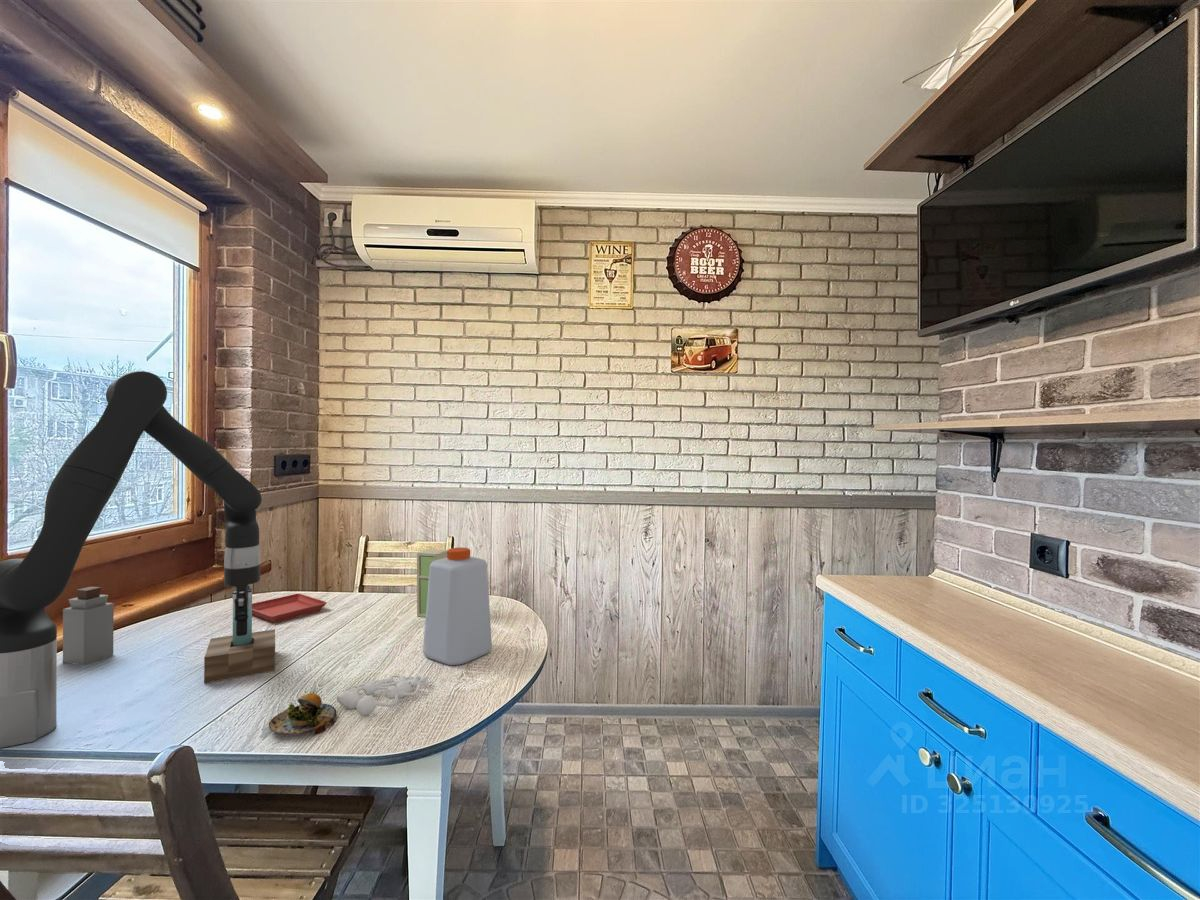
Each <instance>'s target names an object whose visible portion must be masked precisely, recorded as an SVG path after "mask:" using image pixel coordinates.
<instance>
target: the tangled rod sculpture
mask: <svg viewBox="0 0 1200 900" xmlns="http://www.w3.org/2000/svg"><path fill="white" fill-rule="evenodd" d="M394 678H398V679H394ZM428 678H429V676H428V675H427V676H421V675H419V674H416V675H413V676H405V675H398V674H394V675H393V674H392V675H391V676H388V677H386V678H380V679H377V680H373V681H372V680H371V681H365V682H363V683H361V684H357V685H352V686H348V687H347V688H344V689H343V692H340V693H339V694H337V696H336V702H338V703H339V704H340V705H341V706H343V707H344V708H346V709H350V710H353V709H356V712H357V713H358V714H359V715H361V716H363V717H366V716H370V715H371V714H373V713H374V712H375V710H376V708H377V706H378V707H383V708H384V707H385V708H391V707H393V706H396V704H397V703H398V700H399V699H403V698H404V697H414V696H417V695H418V693H419V692H420V689H421V686H426V685H428V684H429V681H428V680H429V679H428ZM412 687H413V688H415V687H416V689H415V691H413V692H411V690H412ZM351 689H355V690H353V691H349V690H351ZM360 691H363V692H364V695H361V694H360V693H359V692H360ZM380 693H382V694H384V696H385V698H386V699H388V700H393V701H392V702H381V701H377V700H376V698H375V697H374V696H375V695H377V694H380Z"/></svg>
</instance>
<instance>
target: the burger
mask: <svg viewBox="0 0 1200 900" xmlns="http://www.w3.org/2000/svg"><path fill="white" fill-rule="evenodd" d="M316 687H317V685H315V686H314V690H313V692H309V693H306V694H303V695H301V696H300V697H298V699H297V702H298V703H299V705H296V706H295V704H293V702H291V703H290V704H289V707H288V708H287V709H286V710H284V711H282V712H280V713H278V714H277V715H275V716H273V718H272V719H270V721H269V722H268V728H269V729H270V730H271V731H273V732H275V733H278V734H281V735H288V736H289V735H290V736H292V735H293V736H295V735H301V734H306V733H311V732H312V731H314V736H316V735H320V734H321V733H323V732H326V730H327V726H328V725H330V726H331V727H333V726H334V725H335V723H336V722H337V718H338V715H337V710H336V708H335V707H334V706H332V705H331V704H327V703H323V702H322V701H323V700H322V698H321V696H320V695H319V694H317V693H314V692H315V690H316Z"/></svg>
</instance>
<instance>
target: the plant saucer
mask: <svg viewBox="0 0 1200 900" xmlns="http://www.w3.org/2000/svg"><path fill="white" fill-rule="evenodd" d="M327 603H328V602H327V601H325V600H321V599H318V598H315V597H312V596H309V595H305V594H302V593H294V594H290V595H285V596H280V597H276V598H272V599H267V600H263V601H258V602H252V616H255V617H258V618H261V619H264V620H267V621H268V622H271V623H278V622H281V621H285V620H290V619H293V618H296V617H297V618H298V617H301V616H305V615H309V614H313V613H316V612H320V611H321V610H322V609H323V608H324V607H325V606H326V604H327Z"/></svg>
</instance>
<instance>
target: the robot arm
mask: <svg viewBox="0 0 1200 900" xmlns="http://www.w3.org/2000/svg"><path fill="white" fill-rule="evenodd" d="M167 397H168V391H167V387H166V384H165V383H164V381H163V379H161V378H160V377H159V376H158V375H156V374H154V373H153V372H150V371H145V370H144V371H143V370H139V371H138V370H137V371H132V372H127V373H124V374H123V375H121V376H119V377H118V378H117V379H115V380H114V381H113V382H111V383H110V384H109V386H108V387H107V389H106V392H105V399H106V402H107V405H106V406H105V409H104V412H102V414H101V416H100V418H99V420H98V422H97V423H96V424H95V426H94V427H93V428H92V429H91V430H90V431H89V433H87V435H86V436H85V437H84V438H83V439H82V440H81V441H80V443H78V445H77V446H76V447H75V448H74V449H73V451H72V452H71V453H69V455H68V457H67V459H66V460H65V461H64V462H63V464H62V466H61V467H60V469H59V470H58V471H57V473H56V475H55V477H54V478H53V479H52V482H51V484H50V485H49V488H48V491H47V493H46V497H45V505H44V517H43V524H42V527H41V530H40V531H39V532H40V533H39V535H38V537H37V539H36V540H35V542H34V543H33V545H32V547H31V548H30V550H29V551H28V553H27V554H26V555H25V557H24V558H19V557H18V558H9V559H5V560H1V561H0V749H2V748H7V747H12V746H16V745H17V746H18V745H21V744H28V743H33V742H36V741H37V740H38V739H39V738H41V737H43V736H45V735H47V734H49V733H51V732H53V730H55V729H56V727H57V706H58V705H57V691H58V690H57V689H58V687H57V675H58V674H57V669H58V668H57V667H58V666H57V662H58V661H57V660H58V658H57V656H58V655H57V653H58V649H57V648H58V638H57V637H58V629H57V628H58V627H57V625H56V623H55V622H54V621H53V620H52V619H51V617H49V615H48V614H47V612H46V608H47V607H48V606H51V604H53V603H54V602H55V601H56V600H57V599H58V598H59V597H60V596H61V595H62V594H63V592H64V591H65V589H66V587H67V585H68V583H69V581H70V579H71V576H72V574H73V571H74V568H75V567H76V563H77V562H78V559H79V557H80V554H81V553H82V552H81V551H82V549H83V547H84V544H85V542H86V541H87V539H88V537H89V535H90V533H91V532H92V530H93V529H94V526H95V524H96V523H97V522H98V520H99V517H100V515H101V513H102V511H103V509H104V508H105V506H106V504H107V503H108V502H109V500H110V498H111V496H112V495H113V494H114V492H115V490H116V488H117V486H118V484H119V483H120V481H121V478H122V477H123V474H124V473H125V471H126V468H127V466H128V464H129V463H130V461H131V458H132V456H133V453H134V451H135V449H136V446H137V444H138V442H139V440H140V438H141V436H142V435H143V433H144V432H145V433H146V434H147V435H148V436H150V437H151V438H153V439H154V440H155V441H156V442H157V443H159V444H160V445H162V447H164V448H165V449H166V450H167V451H169V453H171V454H172V455H173V456H174V457H175V458H176V459H177V460H178V461H180V462H181V463H182V465H184V466H185V467H186V468H187V470H189V471H190V472H191V473H192V474H193V475H194V476H196V478H198V480H200V482H202V483H203V484H204V485H206V486H207V487H208V488H210V489H212V490H213V492H215V493H216V494H217V495H218V497H220V498H221V499H222V501H223V511H224V519H225V527H226V528H225V550H224V556H223V557H224V558H223V560H224V561H223V563H224V565H223V579H224V580H223V583H224V585H225V586H226V587H227V586H229V587H236V589H233V590H232V591H233V592H234V591H236V592H234V593H233V592H232V598H231V599H232V601H233V600H234V606H233V605H232V611H233V610H234V611H235V621H236V635H237V636H243V635H246V634H247V620H248V610H249V609H250V598H251V597H252V598H253V588H252V587H251V586H250V585H253V584H256V583H258V582H260V580H261V550H260V548H261V547H260V527H259V523H258V522H257V509H258V508H259V507H260V506H261V504H262V494H261V492H260V490H259V489H258V488H257V487H256V486H255V485H254V484H253V483H252V482H251V481H249V479H247V477H245V476H243V475H242V473H240V472H239V471H238V470H236V469H235V467H233V465H232V464H231V463H230V462H229V461H228V460H227V459H226V457H224V456H223V455H222V454H221V452H219V451H218V450H217V449H216V448H215V447H214V446H213V445H212V444H210V443H209V442H208V441H206V440H205V439H204V438H202V437H200V436H199V435H198V434H195V432H193V431H191V430H190V429H188V427H187V428H186V427H185V426H183V424H182V423H180V422H179V421H178V420H176V418H175V417H174V416H172V415H171V414H170V413H169V411H168V410H167V409H166V407H165V406H164V404H165V402H166V400H167ZM248 590H252V591H248ZM247 596H248V599H247ZM247 601H248V605H247ZM239 612H245V614H244V615H238V613H239Z"/></svg>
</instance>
